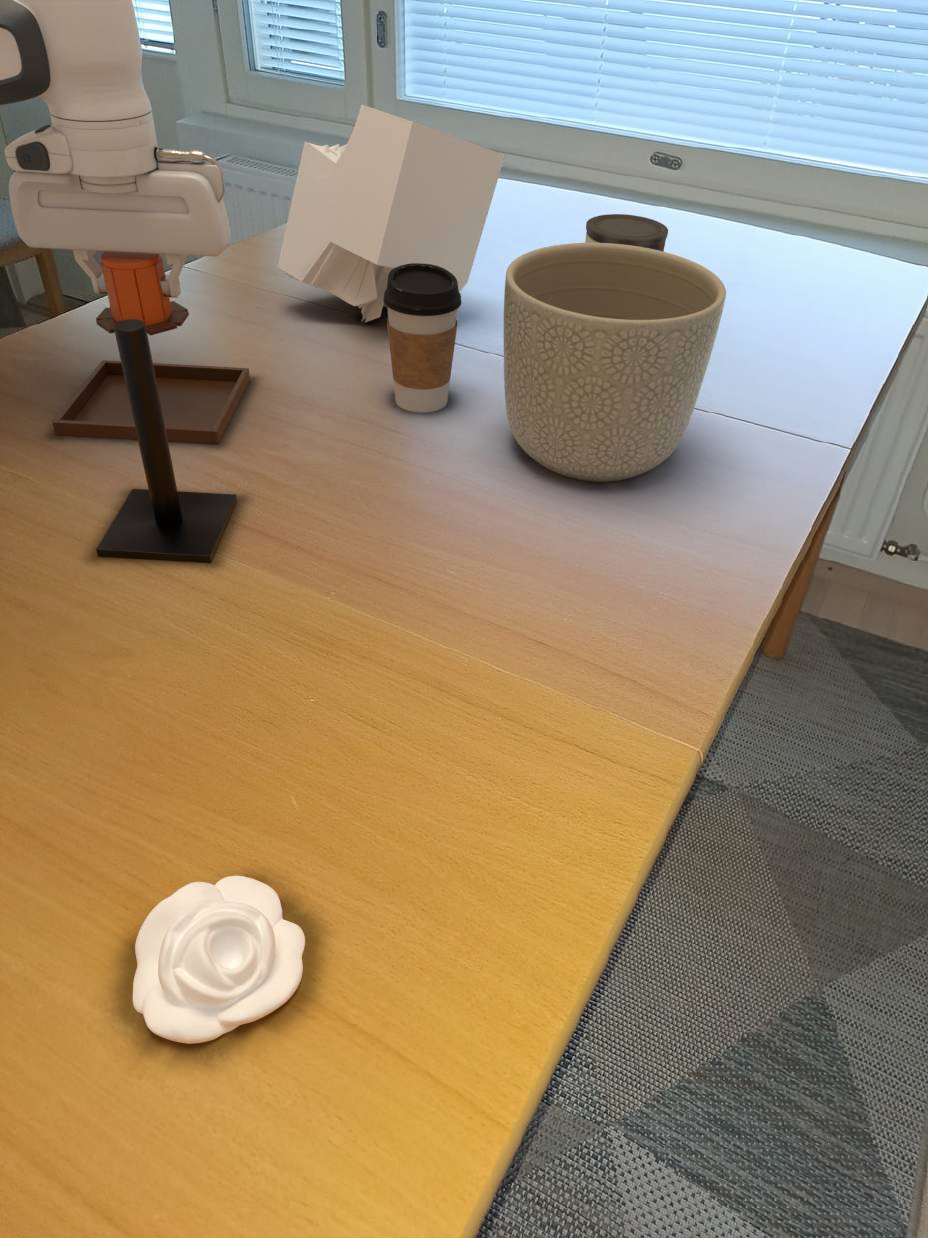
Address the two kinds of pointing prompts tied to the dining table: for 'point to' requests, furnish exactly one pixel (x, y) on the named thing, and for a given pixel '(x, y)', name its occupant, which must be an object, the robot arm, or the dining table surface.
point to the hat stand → (159, 477)
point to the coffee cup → (421, 333)
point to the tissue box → (386, 207)
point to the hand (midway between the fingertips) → (137, 293)
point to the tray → (187, 396)
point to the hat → (138, 293)
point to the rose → (215, 959)
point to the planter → (605, 355)
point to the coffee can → (626, 231)
